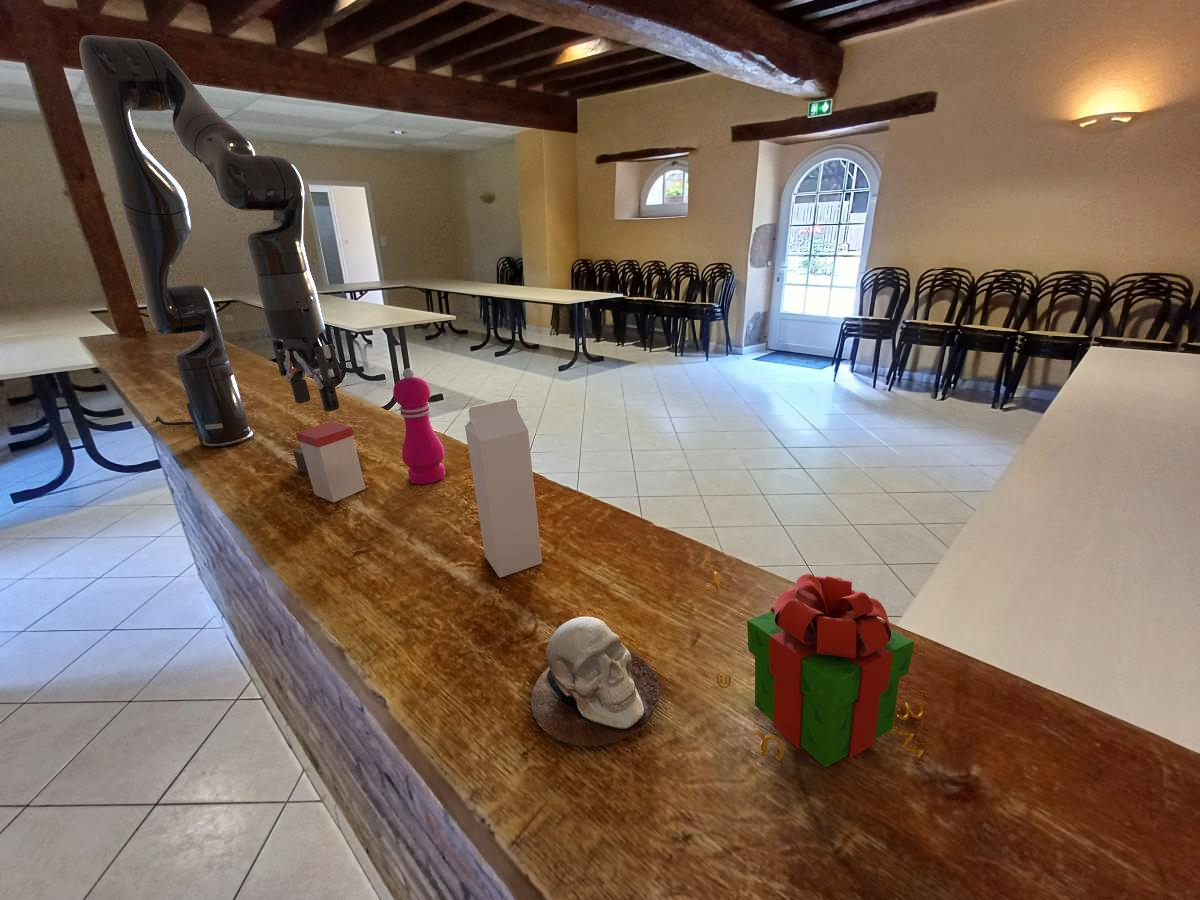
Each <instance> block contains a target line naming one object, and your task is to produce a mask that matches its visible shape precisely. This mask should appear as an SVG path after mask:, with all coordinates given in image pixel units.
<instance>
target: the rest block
mask: <svg viewBox="0 0 1200 900" xmlns="http://www.w3.org/2000/svg"><path fill="white" fill-rule="evenodd" d="M356 451H357V450H356ZM292 453H293V457H294V460H295V463H296V467H297V470H298V471H301V472H303V473H305V474H308V475H309V473H308V470H307V466H306V462H305V459H304V455H303V452H302V448H301V447H300V448H297V449H293V450H292ZM357 455H358V459H359V463H360V468H361V472H362V473H363V472H364V469H363V467H362V466H363V465H362V461H361V457H360V453H359V451H357Z"/></svg>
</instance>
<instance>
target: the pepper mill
mask: <svg viewBox="0 0 1200 900" xmlns="http://www.w3.org/2000/svg"><path fill="white" fill-rule="evenodd" d="M402 376H403V378H401V379H400V380H398V381H397V382H396V383H395V384H394V386H393V391H392V394H393V399H394V401H395V402H396V403H397V404H398V405H400V406H399V408H398V409H399V411H400V413H399V414H400V416H401V417H403V421H404V424H405V436H404V440H403V443H402V447H401V448H402V449H401V458H402V462H403V464H404V465H405V466H407V467H408V470H407V473H408V479H409V481H410V483H413V484H416V485H426V484H433V483H435V482H438V481H440V480H442V479H443V478H444V477H445V476H446V469H445V465H444V463H442V461H443V460H444V459H445V455H446V454H445V453H446V452H445V449H444V445H443V444H442V441H441V439H440V438H439V437H438V436H437V434H436V433H435V430H434V429H433V426H432V425H431V420H430V413H431V404H430V403H429V402H428V401H429V399H430V398H431V388H430V385H429V384H428V382H427V381H426V380H425V379H423V378H421V377H418V376H415V372H414V370H413V369H411V368H405V369H404V370H403V371H402Z"/></svg>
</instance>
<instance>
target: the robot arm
mask: <svg viewBox="0 0 1200 900" xmlns="http://www.w3.org/2000/svg"><path fill="white" fill-rule="evenodd" d="M78 48H79V57H80V61H81V62H80V63H81V67H82V70H83V74H84V78H85V80H86V84H87V86H88V89H89V92H90V96H91V98H92V101H93V104H94V107H95V111H96V113H97V115H98V116H97V117H98V119H99V121H100V125H101V128H102V130H103V134H104V137H105V139H106V143H107V146H108V150H109V154H110V157H111V161H112V165H113V170H114V174H115V178H116V183H117V187H118V192H119V197H120V201H121V205H122V209H123V213H124V217H125V220H126V223H127V227H128V230H129V234H130V237H131V239H132V243H133V244H132V245H133V246H134V250H135V254H136V257H137V262H138V266H139V272H140V279H141V284H142V289H143V296H144V301H145V306H146V310H147V314H148V317H149V320H150V322H151V324H152V327H154V329H155V330H156V331H157V332H158V333H160V334H161V335H165V336H174V335H176V336H177V335H182V334H189V333H197V332H200V334H199V335H200V336H199V337H198V338H197V339H196V340H195V342H194V343H192V344H190V345H189V346H188V347H187V346H186V348H183V349H182V350H179V351H178V352H176V353H175V354H174V358H173V359H174V363H175V365H176V368H177V371H178V374H179V376H180V380H181V382H182V385H183V387H184V391H185V393H186V396H187V399H188V402H187V403H186V407H187V410H188V413H189V416H190V419H191V421H173V422H172V421H171V422H170V421H164V420H163V419H162V417H161V416H159V415H157V416H156V417H155V422H159V423H160V424H162V425H164V426H186V425H187V426H188V425H189V426H192V425H193V428H194V431H195V433H196V437H197V439H198V441H199V444H200V445H203V446H204V447H205V448H222V447H229V446H233V445H236V444H241V443H243V442H245V441H248V440H249V439H251V438H252V437H253V436H254V432H253V431H252V428H251V425H250V421H249V418H248V416H247V412H246V409H245V406H244V403H243V399H242V396H241V393H240V390H239V386H238V384H237V380H236V377H235V374H234V371H233V368H232V365H231V362H230V357H229V354H228V352H227V348H226V345H225V341H224V338H223V335H222V331H221V327H220V323H219V319H218V314H217V310H216V307H215V303H214V301H213V297H212V295H211V294H210V292H209V290H208V289H207V288H206V287H205V286H204V285H202V284H199V283H193V284H192V283H191V284H182V285H181V284H180V285H171V286H168V281H169V276H170V273H171V270H172V268H173V266H174V264H175V263H176V261H177V259H178V258H179V256H180V255H181V253H182V252H183V250H184V249H185V247H186V245H187V243H188V242H189V239H190V236H191V234H192V221H191V215H190V210H189V204H188V197H187V195H186V193H185V191H184V189H183V186H181V184H180V183H179V182H178V180H177V179H176V178H175V177H174V176H173V175H172V174H171V172H169V170H168V169H167V168H165V166H164V165H163V164H162V163H161V162H160V161H159V160H158V159H157V158H156V157H155V156H154V155H153V154H152V152H150V150H149V149H148V148H147V147H146V145H145V144H144V143H143V142H142V141H141V138H140V137H139V136H138V134H137V132H136V130H135V127H134V125H133V122H132V117H131V112H132V111H133V112H134V111H135V112H137V111H139V112H140V111H141V112H163V111H172V114H173V115H172V119H171V120H172V129H173V131H174V134H175V137H176V139H177V141H178V142H179V143H180V144H181V146H182V148H183V149H185V151H187V153H188V154H189V155H191V157H193V158H194V159H195V160H196V161H197V162H198V163H199V164H201V166H203V167H204V168H205V170H206V171H207V173H208V174H209V176H210V178H211V179H212V181H213V184H214V185H215V188H216V190H217V192H218V194H219V196H220V197H221V199H222V200H223V201H224V202H225V203H226V204H228V205H229V206H231V207H233V208H234V209H237V210H240V211H245V212H267V211H268V212H270V211H272V220H271V223H270V225H268V226H267V227H265V228H260V229H257V230H255V231H252V232H250V233H249V234H248V236H247V245H248V249H249V252H250V255H251V261H252V264H253V266H254V271H255V275H256V278H257V287H258V293H259V296H260V300H261V304H262V307H263V311H264V314H265V318H266V321H267V325H268V329H269V332H270V335H271V337H272V338H273V340H272V341H271V342H272V347H273V352H274V356H275V359H276V363H277V367H278V371H279V374H280V376H281V377H285V378H286V381H288V382H289V383H290V386H291V390H292V393H293V398H294V401H295V402H296V403H297V404H304V403H308V402H310V401H311V394H310V390H309V387H308V383H307V379H306V378H305V377H306V375H307V376H308V377H309V378H311V379H313V380H314V382H315V383H316V385H317V386H318V391H319V395H320V399H321V403H322V407H323V410H324V411H325V412H332V411H335V410H339V408H340V402H339V399H338V395H337V390H336V386H337V385H338V384H341V383H343V382H344V381H343V380H344V379H343V376H342V372H341V369H340V365H339V361H338V357H337V354H336V351H335V347H334V345H333V344H325V345H322V343H321V341H320V339H319V336H320V335H322V334H324V333H325V332H326V326H325V322H324V318H323V314H322V310H321V305H320V301H319V297H318V296H319V295H318V292H317V288H316V285H315V282H314V279H313V278H312V274H311V271H310V267H309V262H308V258H307V255H306V249H305V245H304V210H305V209H304V207H305V190H304V183H303V180H302V177H301V175H300V173H299V171H298V170H297V168H296V167H295V166H294V165H293V163H292V162H291V161H289V160H288V159H287V158H284V157H281V156H277V155H264V154H263V155H262V154H255V150H254V148H253V146H252V145H251V143H250V142H249V140H248V139H247V138H246V137H245V136H244V135H243V134H242V133H241V132H239V131H238V130H237V129H236V128H235V127H233V125H231V124H230V123H229V122H228V121H227V120H225V119H224V118H223V117H222V116H221V115H220V114H218V112H217V111H216V110H215V109H213V107H211V105H210V104H209V103H208V102H207V100H206V99H205V98H204V96H203V95H202V94H201V93H200V91H199V90H198V89H197V87H196V86H195V85H194V83H193V82H192V81H191V79H190V78H189V77H188V76H187V75H186V74H185V72H184V71H183V70H182V68H181V67H180V66H179V65H178V63H177V62H176V61H175V59H174V58H172V56H171V55H170V54H169V53H168V52H167V51H166V50H164V49H163V48H162V47H161V46H159V45H158V44H156V43H154V42H152V41H149V40H145V39H140V38H129V37H117V36H108V35H107V36H105V35H96V34H95V35H94V34H93V35H92V34H90V35H83V36H82V37H81V38H80V40H79V47H78Z"/></svg>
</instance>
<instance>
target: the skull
mask: <svg viewBox="0 0 1200 900" xmlns="http://www.w3.org/2000/svg"><path fill="white" fill-rule="evenodd" d="M545 659H546V664H547V668H545V670H544V671H543V672H542V673H541V674H540V676H539V677H538V679H537V680H536V682H535V684H534V686H533V689H532V692H531V694H530V695H531V697H530V707H531V713H532V715H533V718H534V719H535V721H536V723H537V724H538V726H539V727H540V728H541V729H542V730H543V731H544V732H545V733H546V734H548V735H550V736H551V737H553V738H554V739H556V740H558V741H560V742H563V743H567V744H569V745H573V746H579V747H580V746H581V747H582V746H583V747H584V746H585V747H588V746H591V747H595V746H602V745H608V744H612V743H615V742H618V741H622V740H623V739H625V738H628V737H629V736H631V735H633V734H634V733H636V732H638V731H639V730H641V729H642V728H643V727H644V726H645V725H646V724H647V723H648V722H650V721H649V720H651V717H652V716H653V715H654V713H655V711H656V709H657V706H658V704H659V699H660V685H659V680H658V677H657V676H656V674H655V671H654V670H653V669H652V667H650V665H649V664H648V663H647V662H645V661H644V659H642V658H641V657H639V656H638V655H636V654H633V653H631V652H630V651H629V650H628V648H627V647H626V646H625V645H624V644H623V643H622V640H621V638H620V636H619V635H618V634H616V633H615V632H613V631H612V630H611V629H610V627H609V626H608V625H607V624H606V623H605V622H604V621H603V620H602V619H599V618H597V617H593V616H577V617H575V618H572V619H570V620H568V621H565V622H564V623H562V624H561V625H559V627H558V628H557V629H556V630H555V631H554V633H553V634H552V635H551V638H550V639H549V641H548V643H547V646H546V650H545Z"/></svg>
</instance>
